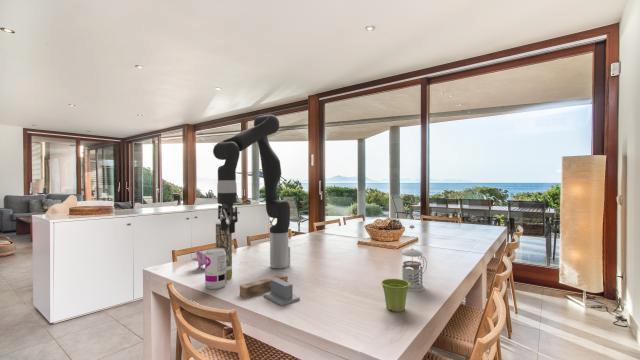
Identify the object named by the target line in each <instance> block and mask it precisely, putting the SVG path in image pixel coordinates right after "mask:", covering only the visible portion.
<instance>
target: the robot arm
mask: <svg viewBox="0 0 640 360" xmlns="http://www.w3.org/2000/svg"><path fill="white" fill-rule="evenodd" d="M279 129H280V121H279V119H278V117H277V116H276V115H274V114H267V115H258V116H256V117H255V118H254V120H253V127H250V128H248V129H244V130H241V131H240V132H238V133H237V134H235V135H234V136H231V137H229V138H226V139H223V140H221V141H219V142H217V143H216V144H215V145H214V146H213V150H212V154H213V156H214V157H215V159H217V160H222V161H223V160H224V163H223V165H220V166H219V167H218V168H217V186H216V188H217V189H216V190H217V191H216V194H217V195H216V196H217V202H216V203H218V204H219V205H218V206H217V220H219V221H221V230H222V231H224V230H226V229H227V225H226V221H228V222H229V233H232V234H235V232H236V223H238V221H239V220H238V206H234V204H237V203H238V198H237V195H238V193H237V190H238V189H237V175H236V171H237V166H238V163H239V159H240V154H241V152H243V151H244V150H246V149H247V148H249V147H251V145H254V144H255V143H256V142H257V146H258V151H259V158H260V163H261V165H260V166H261V171H262V172H261V173H262V178H263V185H264V195H265V196H264V197H265V209H266V210H265V211H266V213H267V216H268V217H269V218H271V219H276V223H275V224H273V225H271V226H270V227H269V253H270V254H269V261H270V262H269V264H270V265H269V266H270V268H271V269H286V268H288V267H290V266H291V247H290V245H289V243H290V242H289V229H290V225H291V205H290V203H289V202H288V201H287V200H283V199H278V196H277V194H278V193H277V188H278V186H279V182H280V180H281V178H282V168H281V161H280V159H279V156H278V155H277V154H276V152H275V151H274V149H272V146H271V145H270V142H269V138H268V136H270V135H274V134H276V133H277V132H278V130H279Z"/></svg>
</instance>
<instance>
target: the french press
mask: <svg viewBox="0 0 640 360" xmlns="http://www.w3.org/2000/svg"><path fill="white" fill-rule="evenodd" d="M409 229H415V225H413V224H411V225H409ZM401 254H402V256H405V257H411V258H416V257H417V258H418V259H419V260H420V258H421V260H422V261H423V262H422V263H423V265H422V263H421V262H420V261H416V260H415V261H414V260H405V261H403V262H402V264H403V265H402V266H401V270H402V271H401V272H402V274H401V275H402V276H401V278H402V279H401V280H405V281H407V282H409V283H410V285H409V286H408V290H407V292H423V291H425V289H426V287H425V286H424V285H423V274H424V273H425V272H426V270H427V267H428V262H427V260H426V257H425V256H424V255H423V254H424V253H423V252H421V251H420V250H418V249H414V248H409V249H408V248H407V249H405V250H402V252H401ZM419 257H420V258H419ZM424 267H425V268H424ZM423 269H424V271H423Z"/></svg>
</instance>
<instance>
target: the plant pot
mask: <svg viewBox="0 0 640 360" xmlns="http://www.w3.org/2000/svg"><path fill="white" fill-rule="evenodd" d="M380 284H381V285H382V286H381V287H382V289H383V293H384V300H385V301H384V302H385V308H386V309H387V310H388V311H392V312H402V311H404V310H405V309H406V304H407V295H408V294H407V293H408V291H407V290H408V286H409V285H410V283H409V282H407V281H405V280H402V279H401V278H385V279H382V280H381V282H380Z"/></svg>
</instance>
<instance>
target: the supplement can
mask: <svg viewBox="0 0 640 360" xmlns="http://www.w3.org/2000/svg"><path fill="white" fill-rule="evenodd" d="M204 254H205V265H204V281H205V282H204V285H205V287H206V289H209V290H218V289H223V288H225V286H226V285H227V280H226V252H225V249H223V248H216V247H214V248H213V247H212V248H209V249H206V251H205V253H204Z"/></svg>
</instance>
